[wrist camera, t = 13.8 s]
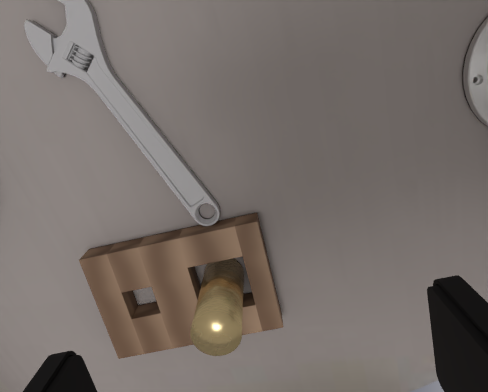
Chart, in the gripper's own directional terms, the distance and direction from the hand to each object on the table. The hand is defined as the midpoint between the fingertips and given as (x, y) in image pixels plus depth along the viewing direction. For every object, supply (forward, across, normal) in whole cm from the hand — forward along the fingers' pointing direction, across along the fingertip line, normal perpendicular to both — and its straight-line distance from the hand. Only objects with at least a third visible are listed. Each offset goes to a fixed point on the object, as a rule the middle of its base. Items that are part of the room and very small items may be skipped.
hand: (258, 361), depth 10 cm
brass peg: (+28, +6, +12) cm, 31 cm away
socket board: (+28, +10, +12) cm, 32 cm away
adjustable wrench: (+29, +11, -6) cm, 31 cm away
